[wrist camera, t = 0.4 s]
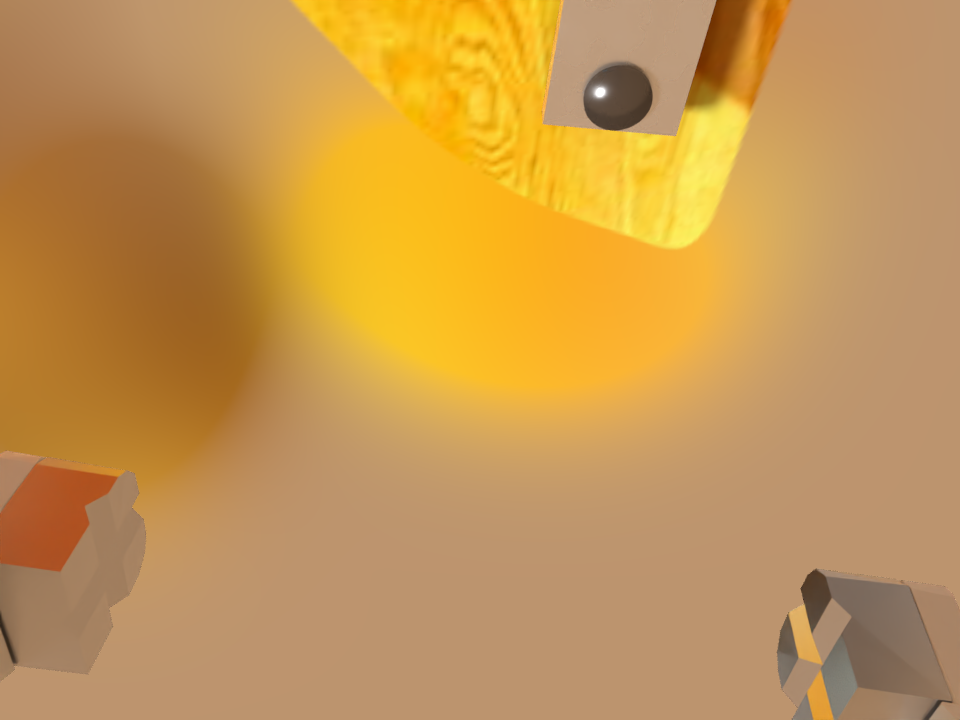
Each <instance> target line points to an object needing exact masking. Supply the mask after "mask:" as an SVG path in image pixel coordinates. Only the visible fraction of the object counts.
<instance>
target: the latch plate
mask: <svg viewBox="0 0 960 720" xmlns="http://www.w3.org/2000/svg"><path fill="white" fill-rule="evenodd" d="M715 4H716V0H561V1H560V7H559V13H558V19H557V25H556V31H555V37H554V43H553V49H552V55H551V61H550V67H549V73H548V79H547V85H546V91H545V96H544V102H543V108H542V120H543V124H547V125H558V126H570V127H581V128H592V129H603V130H614V131H625V132H636V133H648V134H659V135H670V136H676V134H677V130H678V127H679V124H680V120H681V117H682V114H683V110H684V107H685V104H686V100H687V97H688V94H689V90H690V87H691V84H692V80H693V77H694V74H695V70H696V67H697V64H698V60H699V57H700V54H701V50H702V47H703V44H704V40H705V37H706V34H707V30H708V27H709V24H710V20H711V17H712V14H713V10H714V7H715Z"/></svg>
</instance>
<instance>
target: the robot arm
mask: <svg viewBox="0 0 960 720" xmlns="http://www.w3.org/2000/svg"><path fill="white" fill-rule="evenodd" d="M138 495H139V490H138V486H137V481H136V477H135V474H134V473H132V472H129V471H127V470H121V469H115V468H109V467H103V466H97V465H91V464H85V463H80V462H74V461H67V460H62V459H56V458H50V457H47V458H46V457H40V456H34V455H28V454H22V453H16V452H10V451H5V452H3V453H1V454H0V681H2V680H3V679H4V678H5V677H7V676H8V675H9V674H11V673H12V672H13V671H14V670H15V668H14V666H21V667H29V668H38V669H46V670H55V671H64V672H72V673H80V674H88V673H89V671H90V670H91V668H92V666H93V664H94V662H95V660H96V658H97V656H98V654H99V652H100V650H101V648H102V646H103V644H104V642H105V640H106V639H107V637H108V635H109V633H110V631H111V629H112V627H113V624H112V619H111V615H110V610H109V608H110V607H112V606H113V605H115V604H116V603H118V602H119V601H121V600H122V599H124V598H125V597H127V596H128V595H129V594H130V592H131V590H132V588H133V585H134V584H135V582H136V579H137V577H138V575H139V572H140V568H141V564H142V561H143V557H144V554H145V542H146V531H145V525H144V519H143V518H142V517H141V516H140V515H139V514H138V513H137V512H136V511H135V510H134V509H133V508H132V505H133V504H134V502H135V500H136V498H137V496H138ZM801 592H802V597H803V601H804V604H803V605H801V606H799V607H798V608H796V609H794V610H792V611H790V612H788V615H787V617H786V619H785V621H784V624H783V626H782V628H781V630H780V637H779V643H778V650H777V657H778V673H779V678H780V683H781V688H782V690H783V692H784V693H785V694H786V695H787V696H788V697H789V699H790V700H791V701H792V702H793V703H794V704H795V706H796V707H797V708H798V709H797V711H796V713H795V715H794V716H793V718H792V720H960V609H959V607H958V605H957V603H956V600H955V598H954V596H953V594H952V593H951V592H950V591H949V590H948V589H947V588H946V587H945V586H940V585H933V584H926V583H918V582H911V581H903V580H901V581H898V580H896V579H890V578H884V577H876V576H868V575H861V574H852V573H846V572H838V571H831V570H823V569H815V570H813V571H812V572H811V573H810V574H808V575H807V577H806V579H805V581H804V583H803V585H802V587H801Z"/></svg>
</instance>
